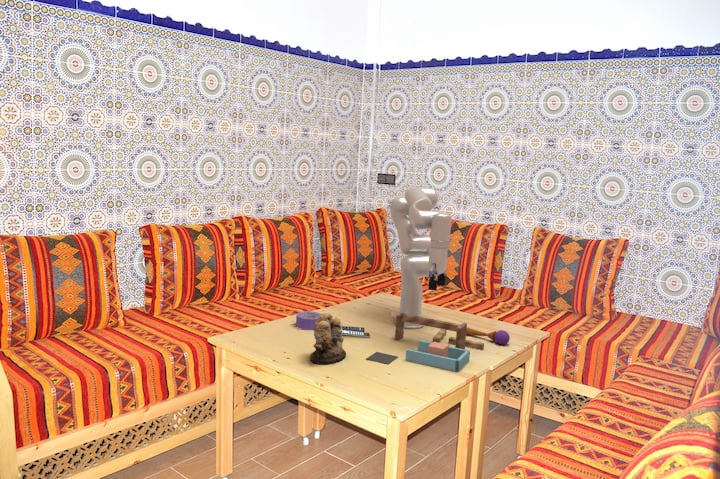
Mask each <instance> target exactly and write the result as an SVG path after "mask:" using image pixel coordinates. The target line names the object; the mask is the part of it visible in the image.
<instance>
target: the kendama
mask: <svg viewBox="0 0 720 479" xmlns="http://www.w3.org/2000/svg"><path fill="white" fill-rule="evenodd" d="M466 336H479V337H480V336H481V337H487V338H488V339H491V341H493V342H496V343H497V344H498V345H500V344H501V346H504V345H507V344H508V343H509V342H510V338H511V337H510V334H509V333H508V331H506V330H503V329H500V330H498V331H496V330H495V331H491V332H488V333H486V332H483V331H480V330H477V329H473V328H470V327H467V330H466Z"/></svg>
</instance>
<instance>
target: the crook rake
mask: <svg viewBox="0 0 720 479" xmlns="http://www.w3.org/2000/svg"><path fill="white" fill-rule="evenodd" d="M398 313H399V314H398V315H396V318H395V332H394V341H398V342H399V341H401V340H402V339H403V338H404V329H405V328H404V322H408V323H413V324H419V325H424V326H426V327H429V328H436V329H439V330H440V329H444V330H447V331H451V332H455V333H456V334H455V335H456V337H455V338H456V345H454V346H455V348H460V349H465V350H466V347H465V342H466V340H467V339H466V338H467V335H466V330H467V328H468V323H467V322H461V324H460V323H454V322H451V321H450V322H449V321H444V320H438V319H435V318H429V317H423V316H421V317H418V316H413V315H408V314H405V313H402V312H401V313H400V312H398ZM424 326H423V327H424Z"/></svg>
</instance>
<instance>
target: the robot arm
mask: <svg viewBox="0 0 720 479" xmlns="http://www.w3.org/2000/svg"><path fill="white" fill-rule="evenodd" d="M438 201H439V194H438V192H437V190H436V189H435V188H432V187H423V186H421V187H419V186H418V187H417V186H416V187H415V186H413V187H409V188H408V189H407V190H405V192H404V196H397V197H395V198H394V199H392V200H391V202H390V208H389V209H390V216H391V217H390V218H391V219H392V222H393V223H394V226H395V229H396V232H397V236H398V237H397V238H398V243H399V247H400V248H399V249H400V251H401V253H402V254H403V255H405V256H402V258H401V259H400V260H401V261H400V263H399V264H400V273H401V274H400V276H401V277H400V278H401V279H400V280H401V286H400V302H399V312H398V313H397V312H391V318H393V319H396V315H398V314H399V313H401V312H402V313H405V314H408V315H413V316H418V317H422V303H423V301H422V300H423V289H424V288H423V284H422V283H421V281H420V280H419V277H420V278H421V277H424V278H425V277H427V278H428V290H430V291H435V292H436V291H437V290H438V286H440V287H445V286H446V275H447V272H446V271H447V269H448V250H450V243H451V229H452V215H451V214H449V213H446V212H445V211H443V210H433V209H434V208H435V207H436V205H437V204H438ZM417 229H418V230H430V235H429V234H420V233H417ZM423 327H424V325H419V324H413V323H408V322H404V329H409V330H411V329H421V328H423Z"/></svg>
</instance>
